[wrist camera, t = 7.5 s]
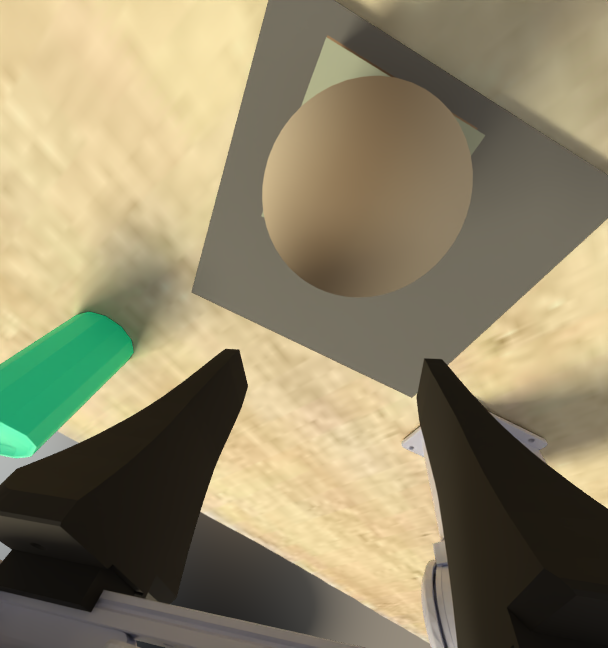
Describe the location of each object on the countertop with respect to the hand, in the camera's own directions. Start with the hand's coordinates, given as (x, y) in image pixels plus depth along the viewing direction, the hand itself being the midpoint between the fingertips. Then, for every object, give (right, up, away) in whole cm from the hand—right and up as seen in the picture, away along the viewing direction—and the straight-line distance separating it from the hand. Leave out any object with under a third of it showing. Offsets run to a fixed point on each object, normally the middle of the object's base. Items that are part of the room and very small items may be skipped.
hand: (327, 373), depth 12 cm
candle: (-20, +1, +16) cm, 26 cm away
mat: (+3, +7, +7) cm, 11 cm away
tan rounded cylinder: (+1, +7, -1) cm, 8 cm away
